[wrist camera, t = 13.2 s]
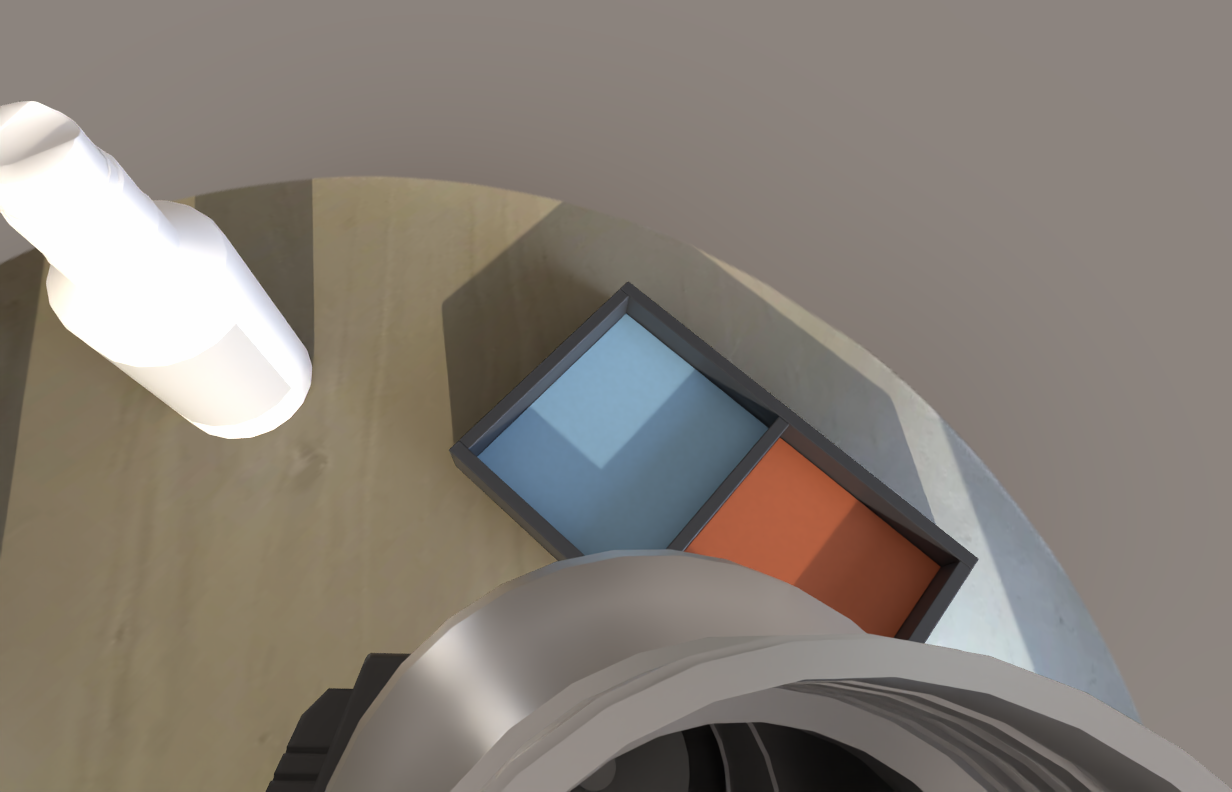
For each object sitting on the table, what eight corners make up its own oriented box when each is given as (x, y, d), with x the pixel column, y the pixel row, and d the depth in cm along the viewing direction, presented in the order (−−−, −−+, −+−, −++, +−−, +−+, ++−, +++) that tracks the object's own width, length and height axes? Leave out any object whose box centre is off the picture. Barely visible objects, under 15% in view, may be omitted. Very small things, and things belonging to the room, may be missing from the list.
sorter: (952, 568, 37) (979, 559, 35) (805, 790, 33) (825, 797, 30) (623, 304, 42) (628, 280, 40) (455, 465, 37) (448, 449, 35)
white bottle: (154, 387, 38) (-159, 144, 21) (257, 304, 40) (49, 29, 24) (239, 467, 36) (-23, 274, 20) (341, 376, 39) (182, 138, 22)
